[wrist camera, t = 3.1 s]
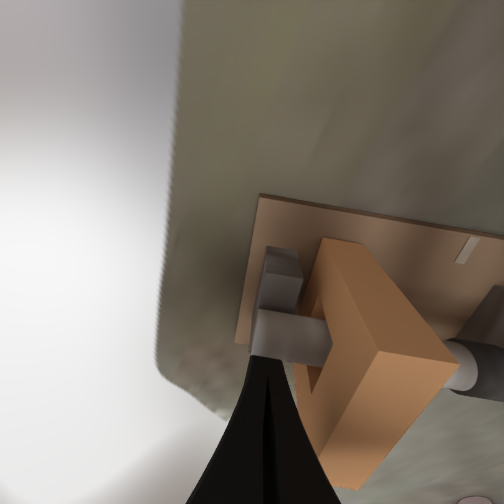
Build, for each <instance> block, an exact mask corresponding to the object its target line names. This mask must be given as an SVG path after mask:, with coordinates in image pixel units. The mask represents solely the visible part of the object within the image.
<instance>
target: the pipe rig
mask: <svg viewBox="0 0 504 504" xmlns="http://www.w3.org/2000/svg"><path fill="white" fill-rule="evenodd" d="M323 237H324V238H330V239H336V240H342V241H347V242H353V243H359V244H363V245H364V246H365V248H366V249H367V250H368V251H369V252H370V254H371V255H372V256H373V257H374V259H375V260H376V261H377V262H378V264H379V265H380V266H381V267H382V268H383V270H384V271H385V272H386V273H387V275H388V276H389V277H390V278H391V280H392V281H393V282H394V283H395V284H396V286H397V287H398V288H399V289H400V291H401V292H402V293H403V294H404V296H405V297H406V298H407V299H408V300H409V302H410V303H411V304H412V305H413V307H414V308H415V309H416V310H417V312H418V313H419V314H420V315H421V316H422V318H423V319H424V320H425V321H426V323H427V324H428V325H429V326H430V328H431V329H432V330H433V331H434V332H435V334H436V335H437V336H438V337H439V339H440V340H441V341H442V342H443V344H444V345H445V346H446V347H447V348H448V350H449V351H450V352H451V353H452V355H453V356H454V357H455V358H456V360H457V361H458V362H459V363H460V364H461V365H460V366H459V367H458V369H457V370H456V371H455V372H454V374H453V375H452V376H451V377H450V378H449V380H448V381H447V382H446V383H445V385H444V386H443V387H442V388H448V389H450V390H451V391H453V392H455V393H456V394H459V395H464V396H470V397H476V398H482V399H488V400H494V401H500V402H504V236H501V235H495V234H489V233H484V232H478V231H472V230H466V229H461V228H455V227H449V226H444V225H438V224H432V223H426V222H421V221H415V220H409V219H404V218H398V217H392V216H386V215H381V214H375V213H369V212H364V211H358V210H352V209H347V208H341V207H335V206H329V205H324V204H318V203H312V202H307V201H301V200H295V199H289V198H284V197H278V196H272V195H267V194H261V193H260V196H259V202H258V207H257V213H256V219H255V225H254V230H253V236H252V242H251V248H250V253H249V259H248V265H247V271H246V277H245V282H244V288H243V294H242V300H241V305H240V311H239V317H238V323H237V328H236V334H235V340H234V343H240V344H246V345H249V352H251V355H257V356H263V357H269V358H275V359H281V361H287V362H293V363H299V364H305V365H311V366H316V367H322V368H323V367H324V364H325V362H326V360H327V358H328V355H329V353H330V351H331V348H332V346H333V342H332V338H331V335H330V331H329V328H328V325H327V321H326V320H322V319H316V318H310V317H304V316H299V315H298V314H299V310H300V307H301V304H302V301H303V298H304V295H305V292H306V288H307V285H308V282H309V279H310V276H311V273H312V270H313V266H314V263H315V260H316V257H317V254H318V251H319V248H320V244H321V241H322V238H323Z"/></svg>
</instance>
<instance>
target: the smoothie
mask: <svg viewBox="0 0 504 504" xmlns="http://www.w3.org/2000/svg"><path fill="white" fill-rule="evenodd" d="M458 504H492V503H491V501H490V500H489V499H488V498H485V497H480V496H474V497H467V498H464V499H462V500H460V501H459V502H458Z"/></svg>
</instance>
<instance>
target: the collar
mask: <svg viewBox="0 0 504 504" xmlns="http://www.w3.org/2000/svg"><path fill="white" fill-rule="evenodd" d="M298 315H299V316H304V317H310V318H316V319H322V320H326V321H327V325H328V328H329V331H330V335H331V338H332V342H333V346H332V348H331V351H330V353H329V355H328V358H327V360H326V362H325V364H324V367H323V368H322V367H316V366H311V365H305V364H299V363H293V366H294V376H295V386H296V397H297V407H298V413H299V416H300V418H301V421H302V423H303V426H304V428H305V431H306V433H307V435H308V438H309V440H310V442H311V444H312V447H313V449H314V451H315V453H316V455H317V458H318V460H319V462H320V464H321V466H322V468H323V470H324V472H325V474H326V476H327V478H328V480H329V482H330V484H331V486H335V487H341V488H348V489H354V490H359V489H360V488H361V487H362V485H363V484H364V483H365V482H366V481H367V479H368V478H369V477H370V476H371V474H372V473H373V472H374V471H375V469H376V468H377V467H378V466H379V465H380V463H381V462H382V461H383V460H384V458H385V457H386V456H387V455H388V453H389V452H390V451H391V450H392V449H393V447H394V446H395V445H396V444H397V442H398V441H399V440H400V439H401V437H402V436H403V435H404V434H405V433H406V431H407V430H408V429H409V428H410V426H411V425H412V424H413V423H414V421H415V420H416V419H417V418H418V417H419V415H420V414H421V413H422V412H423V410H424V409H425V408H426V407H427V405H428V404H429V403H430V402H431V401H432V399H433V398H434V397H435V396H436V394H437V393H438V392H439V391H440V389H441V388H442V387H443V386H444V385H445V383H446V382H447V381H448V380H449V378H450V377H451V376H452V375H453V374H454V372H455V371H456V370H457V369H458V367H459V366H460V365H461V364H460V363H459V362H458V361H457V360H456V358H455V357H454V356H453V355H452V353H451V352H450V351H449V350H448V348H447V347H446V346H445V345H444V344H443V342H442V341H441V340H440V339H439V337H438V336H437V335H436V334H435V332H434V331H433V330H432V329H431V328H430V326H429V325H428V324H427V323H426V321H425V320H424V319H423V318H422V316H421V315H420V314H419V313H418V312H417V310H416V309H415V308H414V307H413V305H412V304H411V303H410V302H409V300H408V299H407V298H406V297H405V296H404V294H403V293H402V292H401V291H400V289H399V288H398V287H397V286H396V284H395V283H394V282H393V281H392V280H391V278H390V277H389V276H388V275H387V273H386V272H385V271H384V270H383V268H382V267H381V266H380V265H379V264H378V262H377V261H376V260H375V259H374V257H373V256H372V255H371V254H370V252H369V251H368V250H367V249H366V248H365V246H364V245H363V244H359V243H353V242H347V241H342V240H336V239H330V238H324V237H323V238H322V241H321V244H320V248H319V251H318V254H317V257H316V260H315V263H314V266H313V270H312V273H311V276H310V279H309V282H308V285H307V288H306V292H305V295H304V298H303V301H302V304H301V307H300V310H299V314H298Z"/></svg>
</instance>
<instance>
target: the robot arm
mask: <svg viewBox="0 0 504 504" xmlns="http://www.w3.org/2000/svg"><path fill="white" fill-rule="evenodd" d="M186 504H341V502H340V500H339V499H338V497H337V495H336V493H335V491H334V489H333V487H332V486H331V484H330V482H329V480H328V478H327V476H326V474H325V472H324V470H323V468H322V466H321V464H320V462H319V460H318V458H317V455H316V453H315V451H314V449H313V447H312V444H311V442H310V440H309V438H308V435H307V433H306V431H305V428H304V426H303V423H302V421H301V418H300V416H299V413H298V410H297V408H296V405H295V402H294V400H293V397H292V394H291V391H290V388H289V385H288V381H287V378H286V374H285V371H284V367H283V363H282V361H281V359H275V358H269V357H263V356H257V355H252V356H250V360H249V364H248V368H247V373H246V377H245V382H244V386H243V389H242V391H241V394H240V397H239V400H238V402H237V405H236V407H235V409H234V412H233V414H232V416H231V419H230V421H229V423H228V426H227V428H226V430H225V432H224V434H223V436H222V438H221V440H220V442H219V444H218V446H217V448H216V450H215V452H214V454H213V456H212V458H211V460H210V462H209V463H208V465H207V467H206V469H205V471H204V472H203V474H202V476H201V478H200V480H199V482H198V483H197V485H196V487H195V488H194V490H193V492H192V494H191V495H190V497H189V499H188V500H187V502H186Z"/></svg>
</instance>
